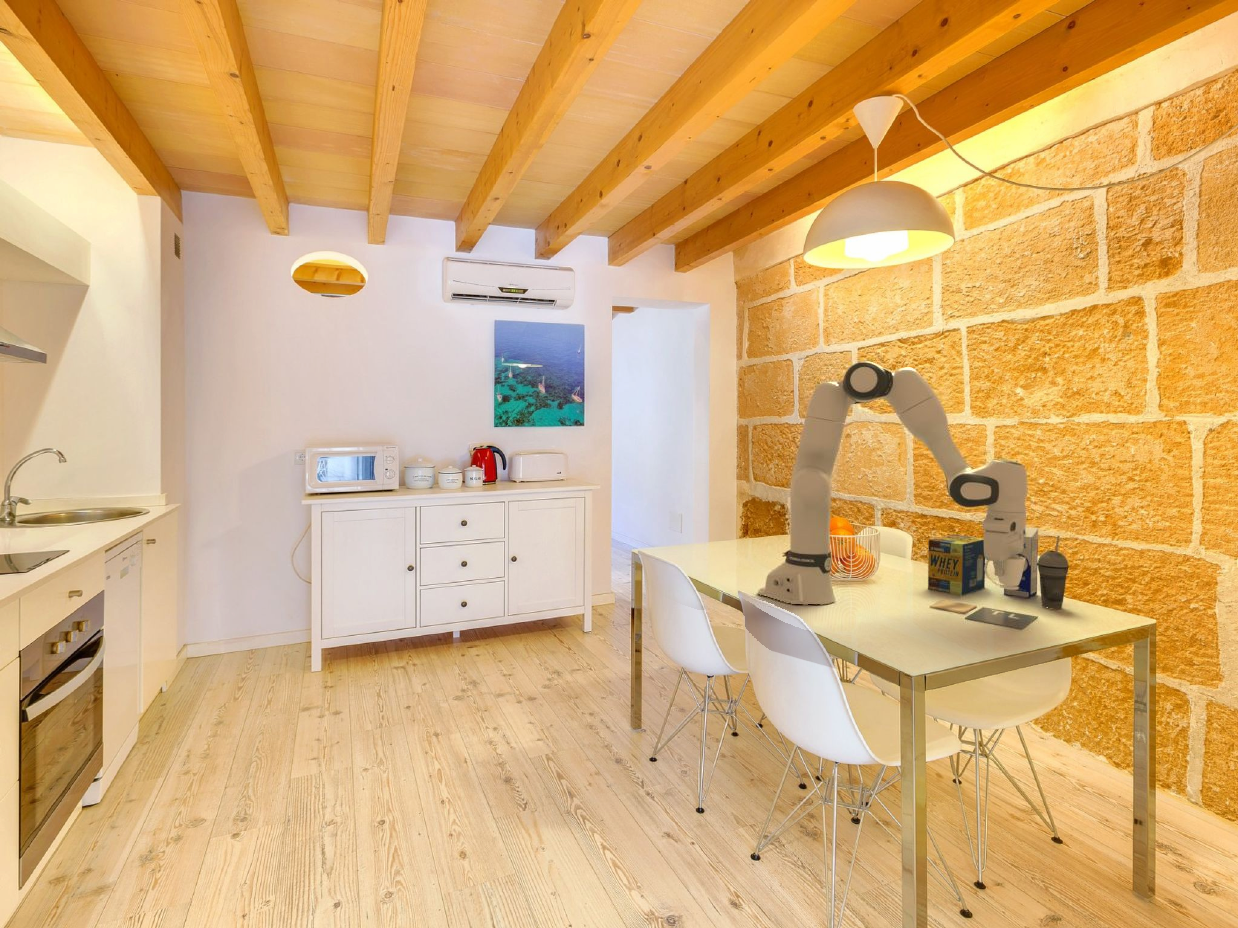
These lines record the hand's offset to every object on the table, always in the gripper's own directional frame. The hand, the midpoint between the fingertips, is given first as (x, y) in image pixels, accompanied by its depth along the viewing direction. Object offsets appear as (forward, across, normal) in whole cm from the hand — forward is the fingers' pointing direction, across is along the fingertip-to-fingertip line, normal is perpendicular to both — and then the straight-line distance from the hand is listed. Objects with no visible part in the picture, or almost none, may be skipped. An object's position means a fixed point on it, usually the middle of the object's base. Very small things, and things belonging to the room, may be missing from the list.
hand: (1003, 573), depth 169 cm
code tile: (+11, +3, +1) cm, 12 cm away
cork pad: (+12, +1, -12) cm, 17 cm away
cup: (+4, 0, 0) cm, 4 cm away
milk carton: (+11, -27, -3) cm, 30 cm away
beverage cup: (+11, -18, +7) cm, 23 cm away
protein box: (+12, -22, -19) cm, 32 cm away
